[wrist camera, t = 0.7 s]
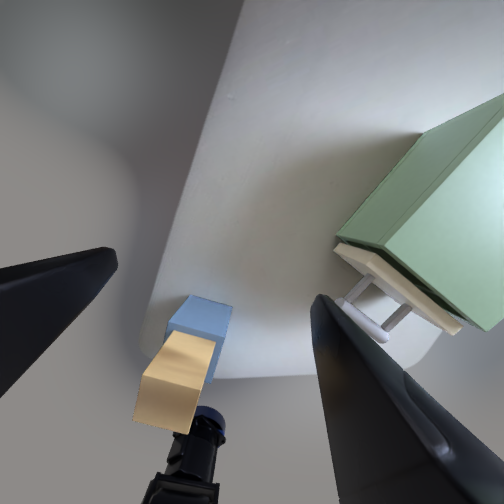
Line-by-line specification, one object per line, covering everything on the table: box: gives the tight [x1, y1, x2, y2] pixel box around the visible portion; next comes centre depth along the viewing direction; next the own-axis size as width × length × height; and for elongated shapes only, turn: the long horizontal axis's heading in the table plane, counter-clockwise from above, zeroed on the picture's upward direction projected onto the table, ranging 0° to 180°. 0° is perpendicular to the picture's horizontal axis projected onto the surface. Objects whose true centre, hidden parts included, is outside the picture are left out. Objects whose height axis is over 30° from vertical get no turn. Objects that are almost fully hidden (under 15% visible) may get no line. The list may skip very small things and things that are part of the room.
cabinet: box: [336, 93, 504, 332], centre depth 17 cm, size 14×12×8 cm
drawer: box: [333, 243, 463, 343], centre depth 18 cm, size 17×10×6 cm, turn 142°
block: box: [132, 330, 216, 435], centre depth 15 cm, size 4×4×5 cm
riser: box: [163, 295, 232, 384], centre depth 21 cm, size 6×6×6 cm
